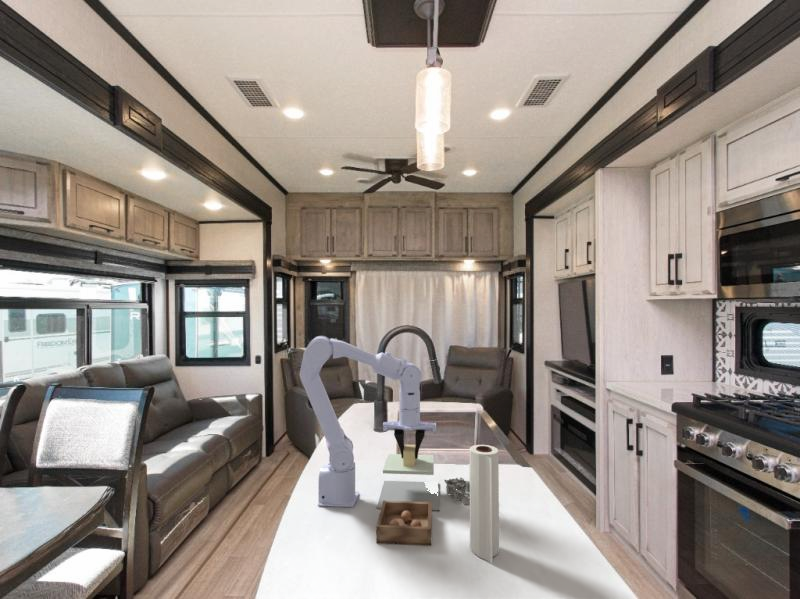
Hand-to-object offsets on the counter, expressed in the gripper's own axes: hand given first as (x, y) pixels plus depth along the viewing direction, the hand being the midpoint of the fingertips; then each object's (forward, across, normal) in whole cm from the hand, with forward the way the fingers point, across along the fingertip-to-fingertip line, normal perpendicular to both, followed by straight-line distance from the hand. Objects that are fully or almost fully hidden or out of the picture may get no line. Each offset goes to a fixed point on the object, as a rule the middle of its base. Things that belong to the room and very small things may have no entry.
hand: (409, 457), depth 111 cm
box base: (+10, 0, -17) cm, 20 cm away
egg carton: (+11, +15, +1) cm, 18 cm away
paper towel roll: (+11, +17, -24) cm, 31 cm away
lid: (+2, 0, 0) cm, 2 cm away
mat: (+10, 0, 0) cm, 10 cm away
